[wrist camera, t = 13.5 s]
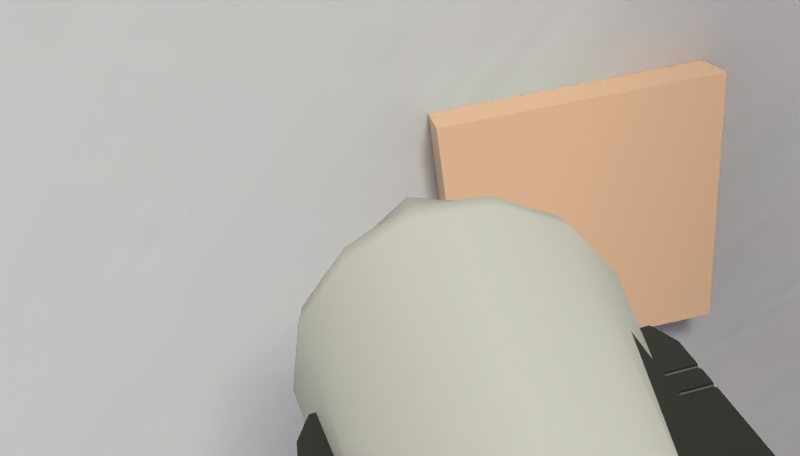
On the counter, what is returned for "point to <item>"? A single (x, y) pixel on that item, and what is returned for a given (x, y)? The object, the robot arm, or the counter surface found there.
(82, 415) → the counter surface
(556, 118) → the tile
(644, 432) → the salt shaker
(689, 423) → the robot arm
